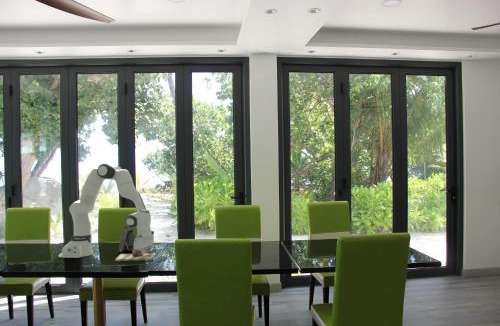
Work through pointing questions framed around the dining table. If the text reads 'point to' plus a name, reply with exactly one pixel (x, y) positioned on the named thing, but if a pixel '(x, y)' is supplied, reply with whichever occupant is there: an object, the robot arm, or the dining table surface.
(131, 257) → the board
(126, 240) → the camera
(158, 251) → the dining table surface
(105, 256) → the dining table surface
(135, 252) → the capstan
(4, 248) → the dining table surface
